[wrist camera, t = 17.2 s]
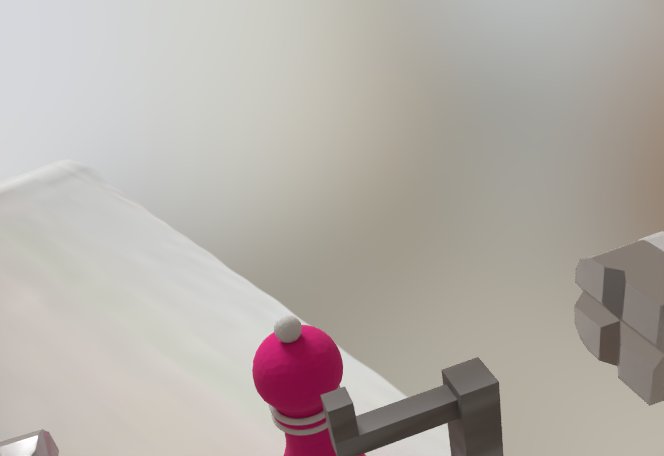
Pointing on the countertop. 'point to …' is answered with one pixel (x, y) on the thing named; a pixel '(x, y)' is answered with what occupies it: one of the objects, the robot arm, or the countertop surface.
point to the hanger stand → (424, 415)
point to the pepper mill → (298, 383)
